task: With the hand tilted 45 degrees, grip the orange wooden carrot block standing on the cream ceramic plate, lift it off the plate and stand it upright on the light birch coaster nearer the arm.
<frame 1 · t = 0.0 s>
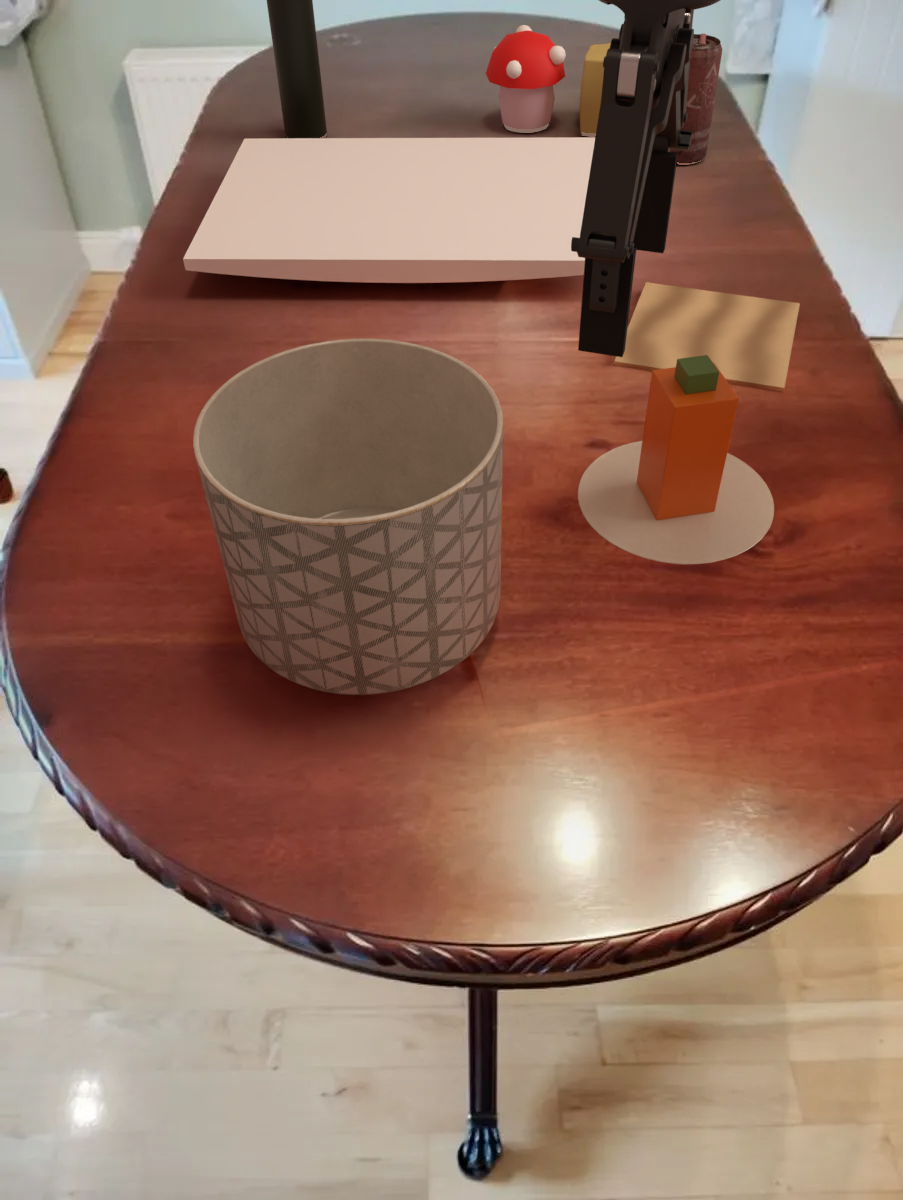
hand: (624, 296, 65), 21 cm above the table, tool pointing down, fingers open, 13 cm apart
planter: (372, 622, 75), on the table
wine bottle: (306, 139, 139), on the table
mushroom: (523, 126, 140), on the table
board: (411, 233, 118), on the table
carrot block: (674, 497, 82), point 1 cm above the table, touching plate
plate: (673, 502, 83), on the table
coaster: (708, 339, 100), on the table
can: (681, 158, 132), on the table
cheese: (619, 127, 139), on the table
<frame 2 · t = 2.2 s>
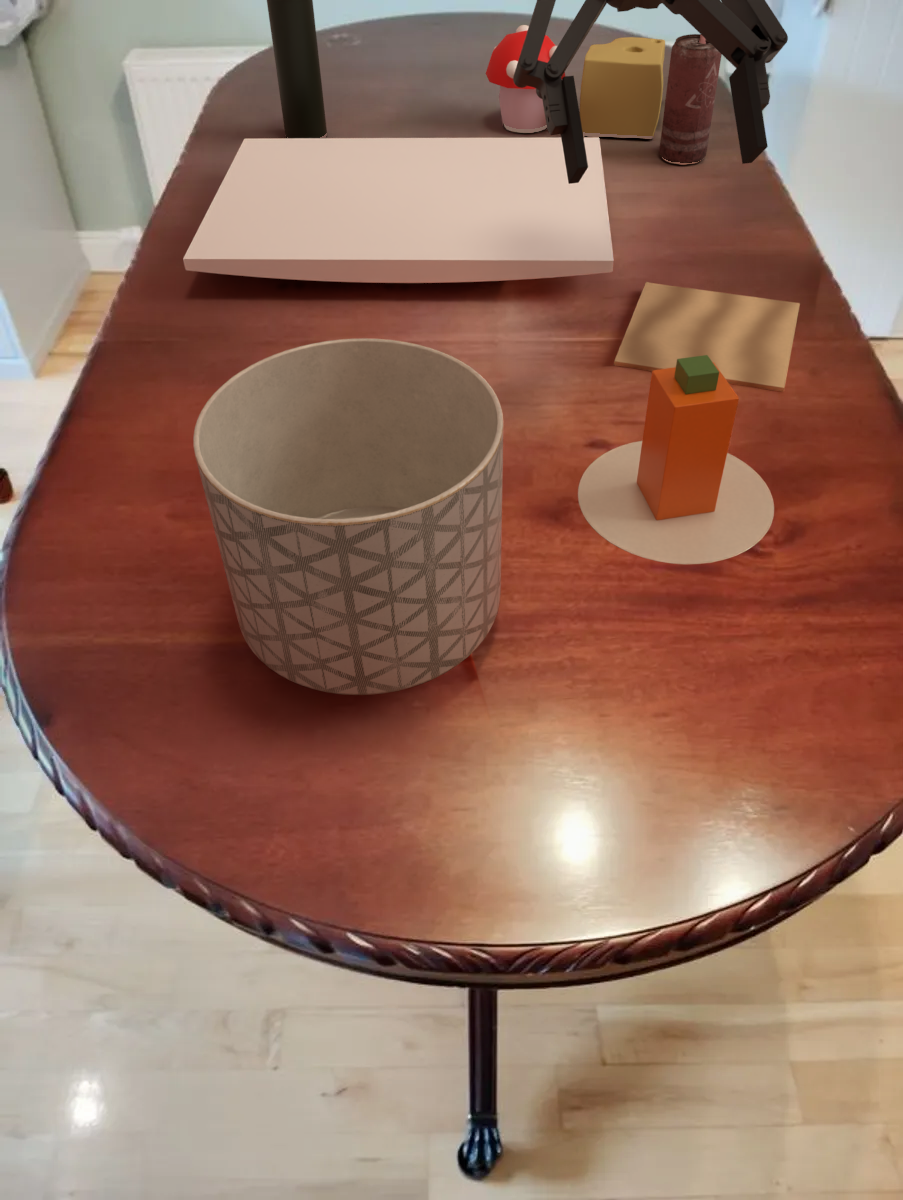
hand: (667, 166, 73), 24 cm above the table, tool tilted 45°, fingers open, 13 cm apart
nothing on the table moved.
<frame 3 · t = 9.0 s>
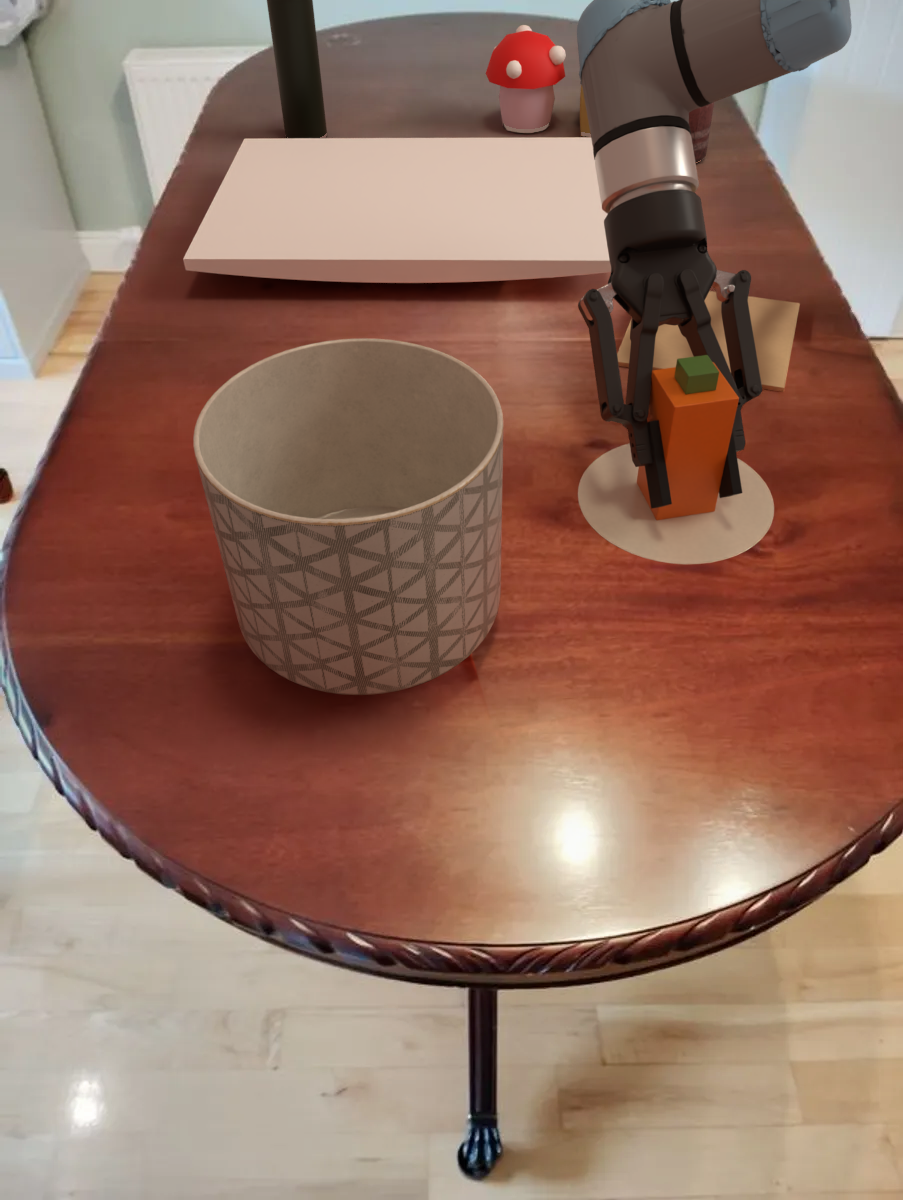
hand: (696, 500, 78), 3 cm above the table, tool tilted 45°, fingers closed on carrot block, 5 cm apart
carrot block: (674, 496, 83), point 1 cm above the table, touching gripper, plate
everything else where it was.
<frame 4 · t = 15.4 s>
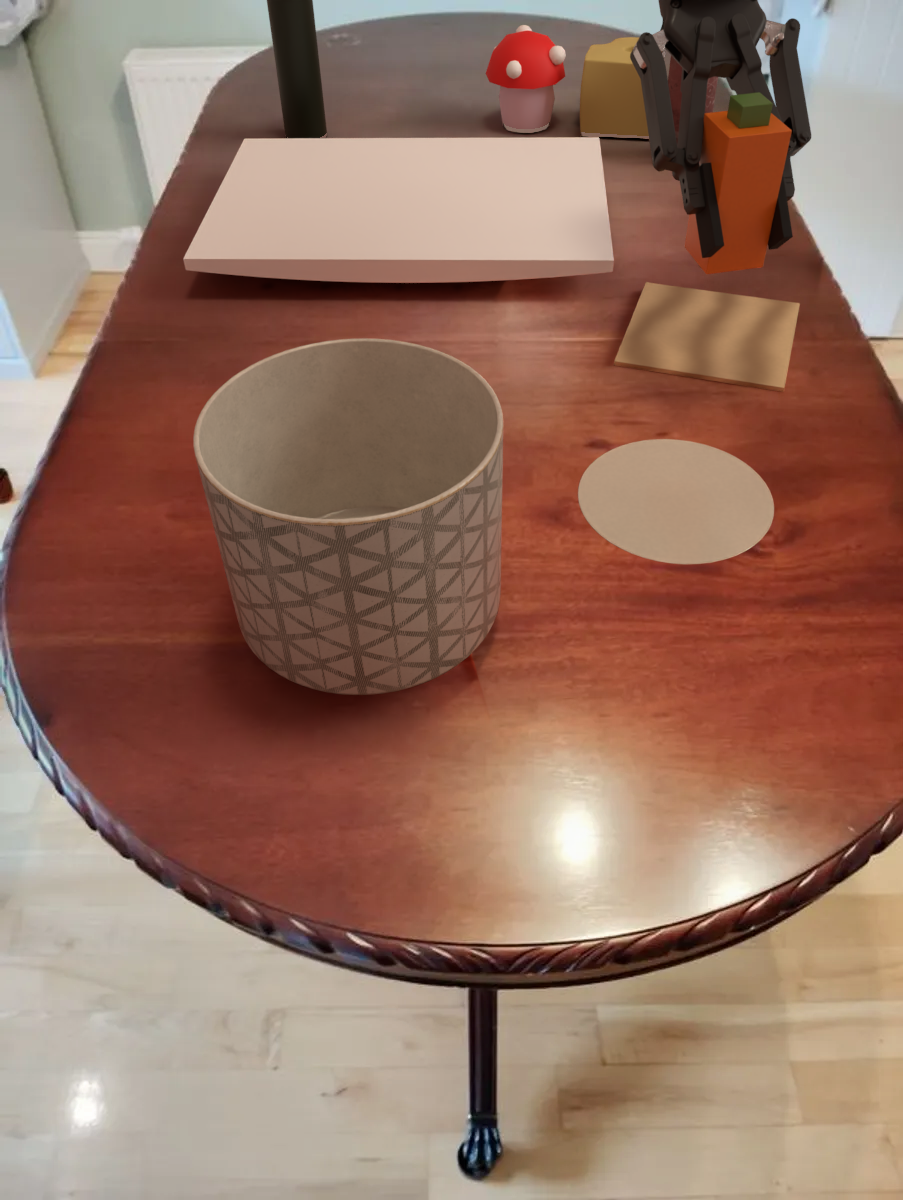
hand: (746, 247, 80), 16 cm above the table, tool tilted 45°, fingers closed on carrot block, 5 cm apart
carrot block: (722, 257, 84), point 14 cm above the table, touching gripper
everything else where it was.
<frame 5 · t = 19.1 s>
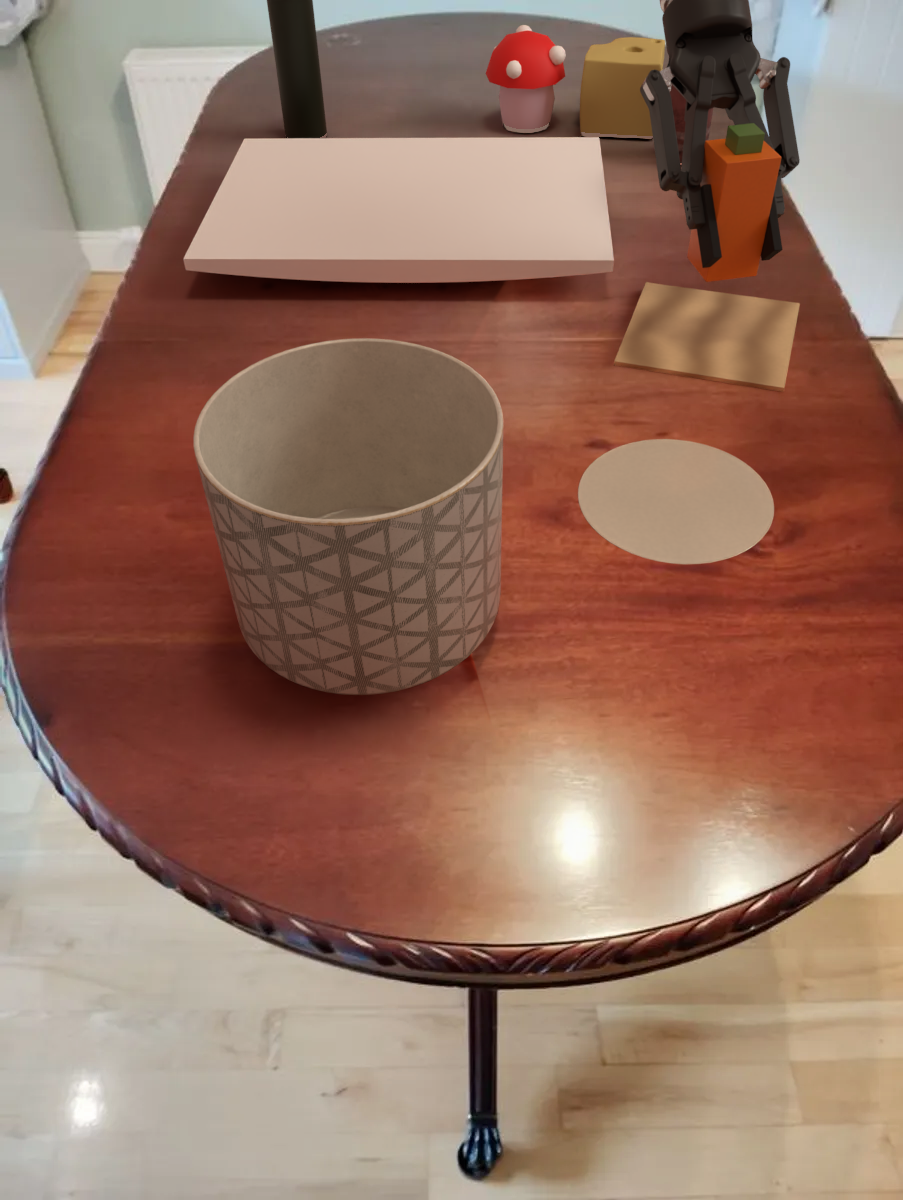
hand: (742, 258, 90), 10 cm above the table, tool tilted 45°, fingers closed on carrot block, 5 cm apart
carrot block: (721, 266, 95), point 8 cm above the table, touching gripper
everything else where it was.
when the fingers open (4 cm above the table, at t = 21.8 s): carrot block stays where it is, resting on coaster.
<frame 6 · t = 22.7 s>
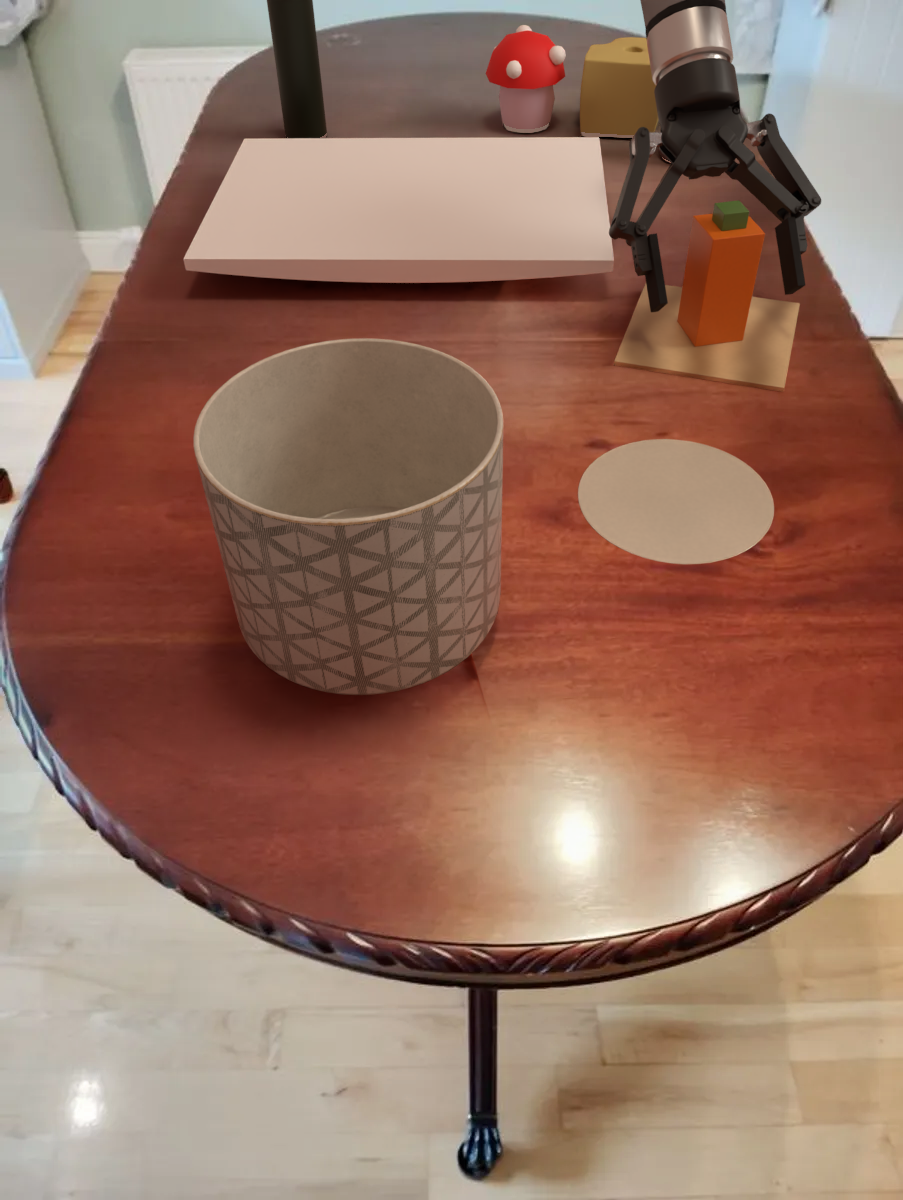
hand: (727, 299, 94), 6 cm above the table, tool tilted 45°, fingers open, 13 cm apart
carrot block: (709, 330, 100), point 1 cm above the table, touching coaster
everything else where it was.
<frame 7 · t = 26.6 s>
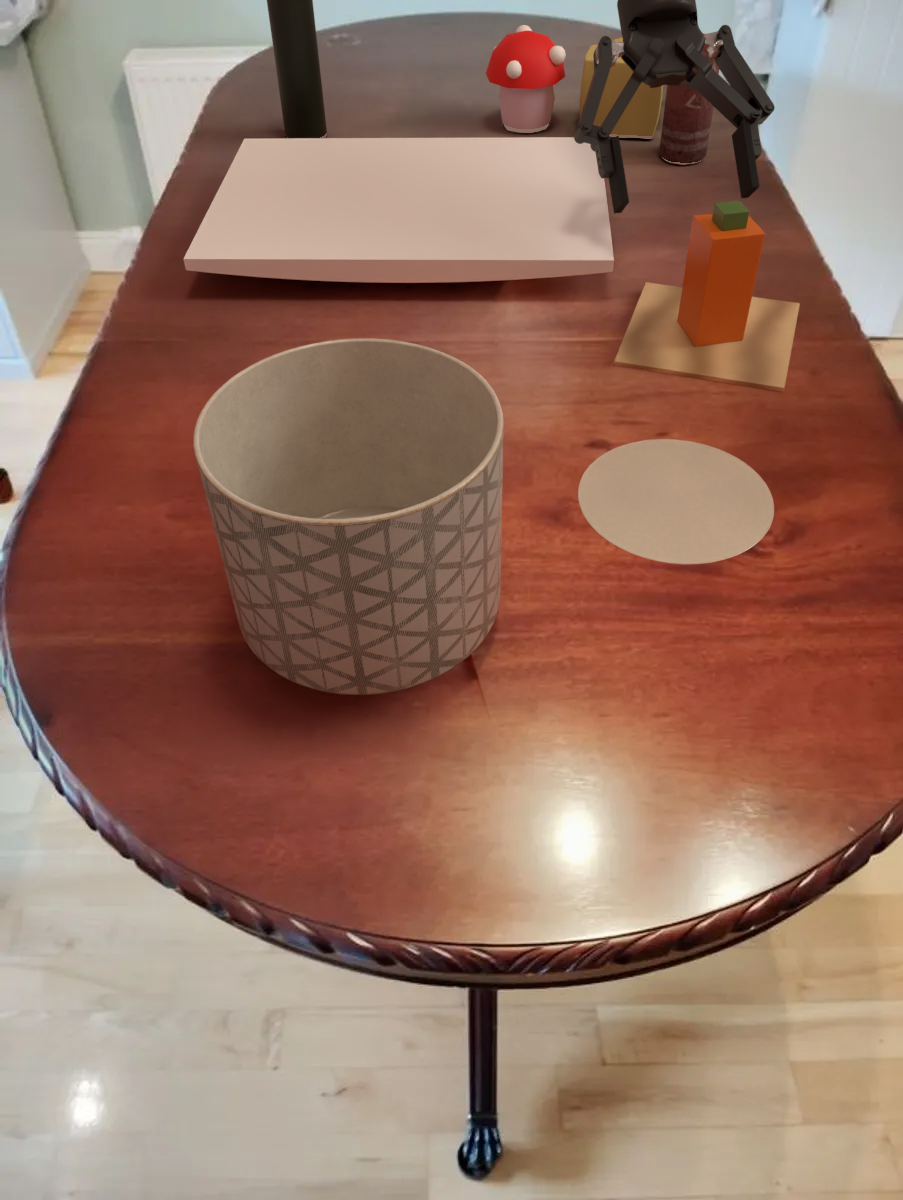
hand: (686, 200, 100), 10 cm above the table, tool tilted 45°, fingers open, 13 cm apart
nothing on the table moved.
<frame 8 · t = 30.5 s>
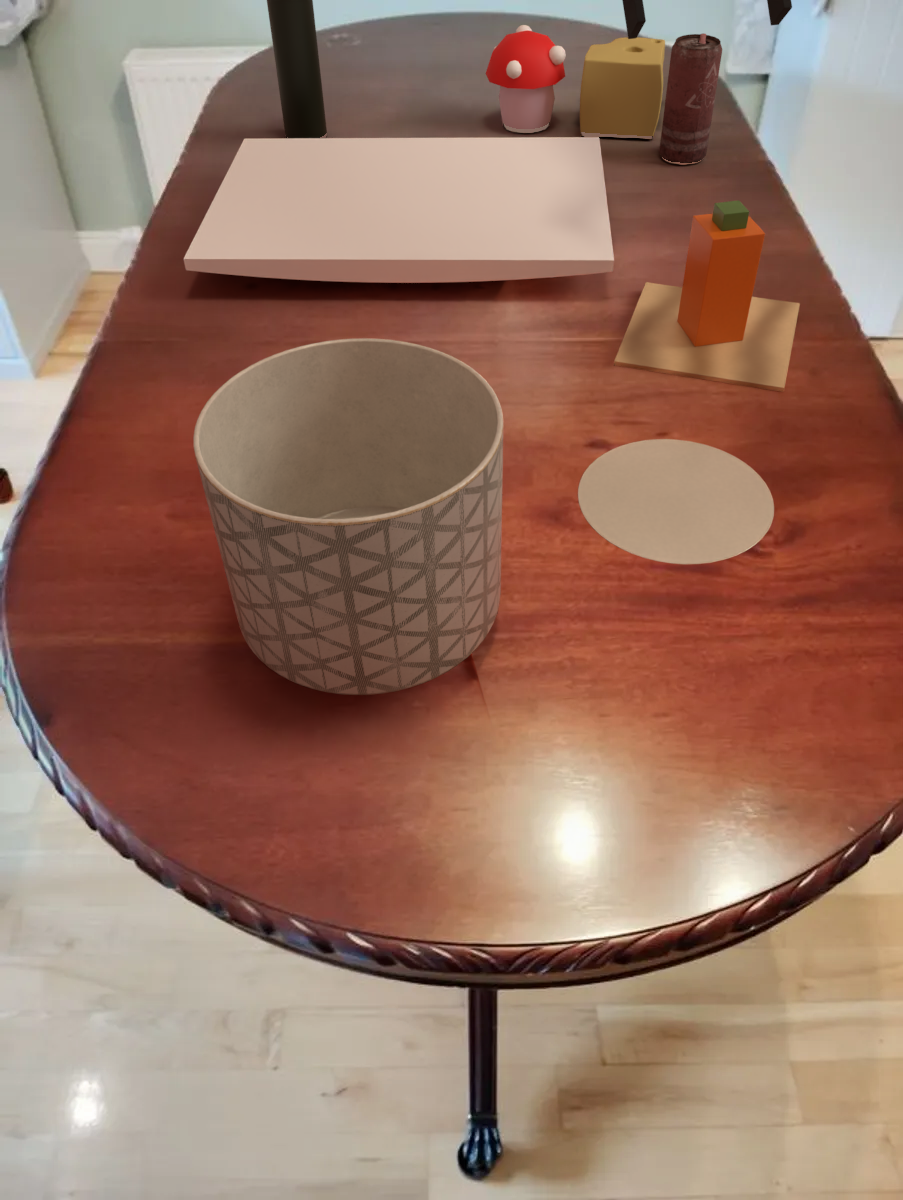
hand: (709, 23, 89), 26 cm above the table, tool tilted 45°, fingers open, 13 cm apart
nothing on the table moved.
at the end: carrot block inside the target area on the coaster (0.1 cm from its centre), point 1.0 cm above the coaster's base; carrot block touching coaster; carrot block tilted 0° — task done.
